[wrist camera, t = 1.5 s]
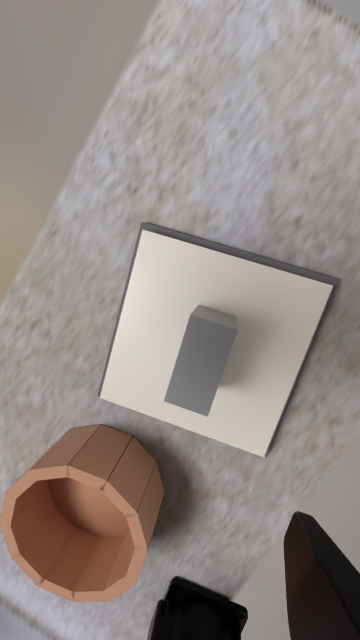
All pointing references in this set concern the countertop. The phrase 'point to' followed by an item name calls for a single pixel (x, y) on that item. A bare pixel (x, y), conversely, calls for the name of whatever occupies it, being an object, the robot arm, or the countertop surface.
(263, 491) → the countertop surface
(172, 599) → the robot arm
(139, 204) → the countertop surface
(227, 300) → the cover sheet
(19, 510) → the bowl
